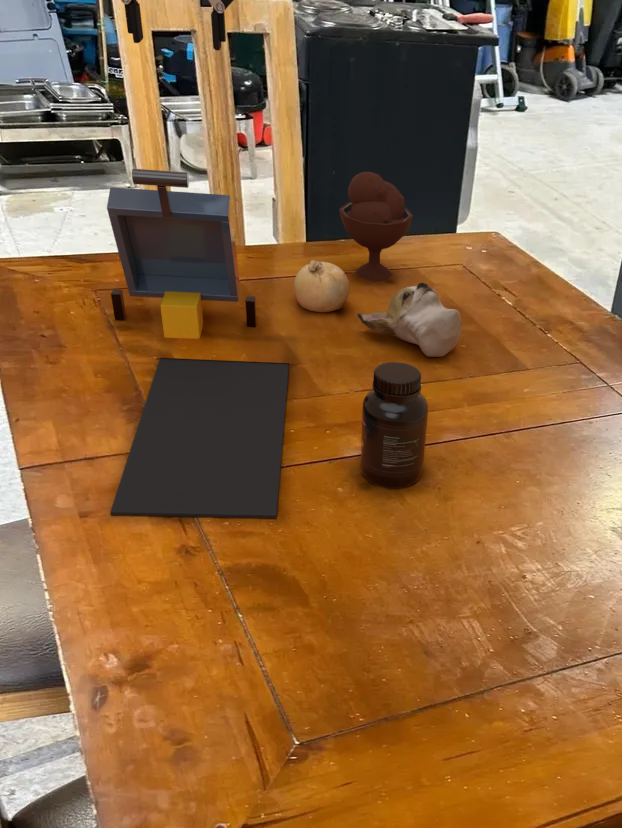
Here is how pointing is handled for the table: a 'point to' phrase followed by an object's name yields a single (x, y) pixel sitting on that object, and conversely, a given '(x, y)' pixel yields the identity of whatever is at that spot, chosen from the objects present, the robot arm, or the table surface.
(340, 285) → the onion
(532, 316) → the table surface
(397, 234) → the ice cream bowl
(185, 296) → the block
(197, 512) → the mat
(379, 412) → the supplement bottle
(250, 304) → the dark brown post pair
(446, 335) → the ceramic sculpture
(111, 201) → the blue-grey tray
